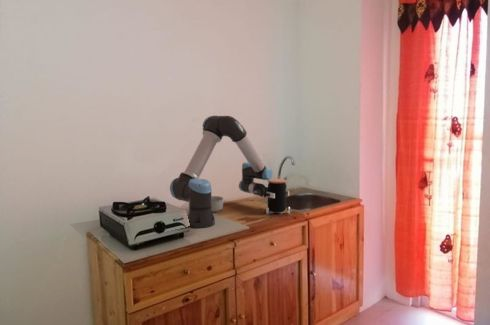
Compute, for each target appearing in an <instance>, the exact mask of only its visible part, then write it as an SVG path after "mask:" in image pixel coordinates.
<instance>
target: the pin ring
mask: <svg viewBox="0 0 490 325" xmlns="http://www.w3.org/2000/svg"><path fill="white" fill-rule="evenodd" d="M270 214H271V215H283V214H282V213H281V212H271V211H269V208H268V206H266V208H265V215H266V216H268V215H270ZM290 214H291V206H286V215H290Z"/></svg>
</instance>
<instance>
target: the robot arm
mask: <svg viewBox="0 0 490 325" xmlns="http://www.w3.org/2000/svg"><path fill="white" fill-rule="evenodd" d="M201 134H202V138H201V139H200V142H199V143H198V146H197V147H196V149H195V151H194V154H193V155H192V157H191V159H190V161H189V162H188V165H187V166H186V168H185V170H184V171H182V172H180V174H179V176H178V177H175V178H174V179H173V180H172V181H171V182H170V185H169V191H170V194H171V196H172V198H174V199H176V200H178V201H183V202H187V203H188V209H189V210H188V213H187V215H186V217H187V216H188V219H189V223H190V226H191V227H190V228H195V229H196V228H197V229H202V228H203V229H204V228H208V227H212V226H214V225H215V224H216V222H215V221H216V220H215V217H214V216H215V215H214V212H212V210H211V196H212V184H211V182H210V181H209V180H208V179H205V178H200V177H201V174H202V173H203V171H204V168H205V166H206V164H207V163H208V160H209V159H210V157H211V155H212V153H213V151H214V149H215V146H216V145H217V144H218V143H220V142H221V141H222V139H223V137H228V138H229V139H230V140H231V141H232V142H233V143H235V144H236V145H237V148H238V150H240V152H241V153H242V155H243V157H244V158H245V159H246V162H243V163H242V167H241V180H240V181H239V184H238V188H239V190H240V191H242V192H244V193H247V194H251V195H253V196H259V197H263V198H268V197H270V198H275V193H270V192H268V186H265V184H264V183H259V182H256V181H255V180H254V179H257V180H263V181H268V180H269V179H272V177H273V170H272V168H270V167H267V166H266V165H265V163H264V162H263V159H262V158H261V157H260V155H259V153H258V152H257V150H256V148H255V147H254V145H253V144H252V142H251V141H250V139H249V137H248V135H247V131H246V129H245V128H244V125H243V124H241V122H239V121H238V119H236V118H235V117H233V116H231V115H211V116H207V117H206V118H205V119H204V121H203V123H202V132H201ZM254 181H255V182H254ZM289 196H290V191H289V190H286V197H289Z"/></svg>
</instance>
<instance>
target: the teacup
mask: <svg viewBox="0 0 490 325" xmlns="http://www.w3.org/2000/svg"><path fill="white" fill-rule="evenodd" d="M223 208H224V197H222V196H219V195H218V196H217V195H211V210H212V213H218V212H221V210H222V209H223Z"/></svg>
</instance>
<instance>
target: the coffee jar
mask: <svg viewBox="0 0 490 325" xmlns="http://www.w3.org/2000/svg"><path fill="white" fill-rule="evenodd" d="M267 182H268V184H267V187H268V192H270V193H275V198H270V197H267V207H268V208H269V212H270V211H271V212H285V211H286V210H287V195H286V191H287V180H286V179H285V178H283V179H282V178H271V179H269V180H267Z"/></svg>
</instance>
